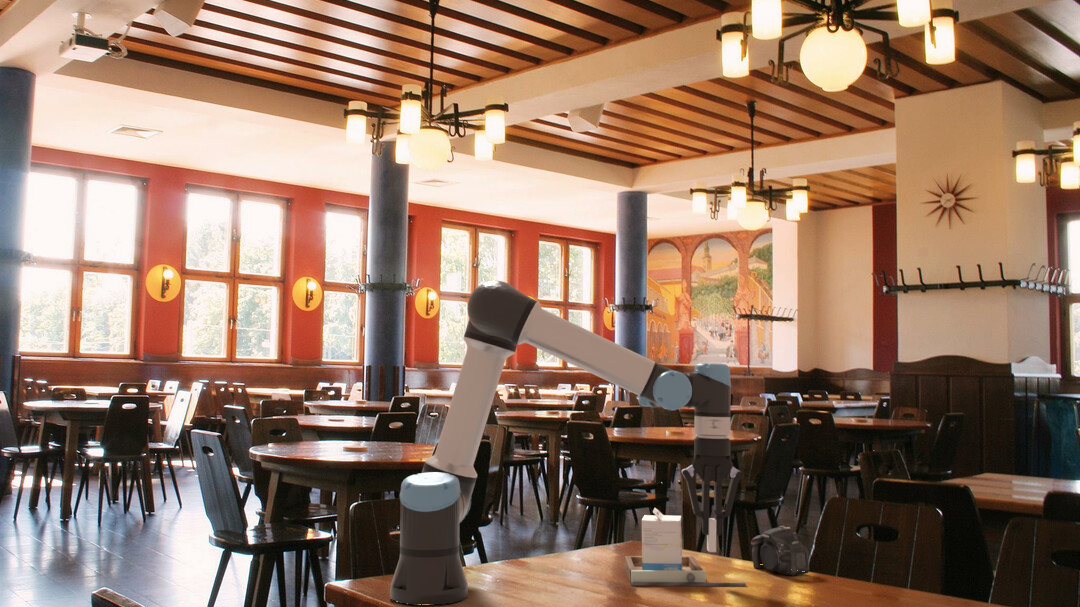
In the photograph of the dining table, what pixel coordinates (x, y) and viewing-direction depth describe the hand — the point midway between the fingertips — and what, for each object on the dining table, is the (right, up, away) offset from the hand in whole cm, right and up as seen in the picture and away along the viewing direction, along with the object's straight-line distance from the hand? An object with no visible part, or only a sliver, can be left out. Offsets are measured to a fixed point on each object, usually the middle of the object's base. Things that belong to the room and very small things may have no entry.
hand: (711, 550), depth 186 cm
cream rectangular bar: (-9, -7, -1) cm, 11 cm away
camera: (+17, -8, +12) cm, 23 cm away
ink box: (-9, -7, +8) cm, 14 cm away
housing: (-5, -7, +7) cm, 11 cm away
